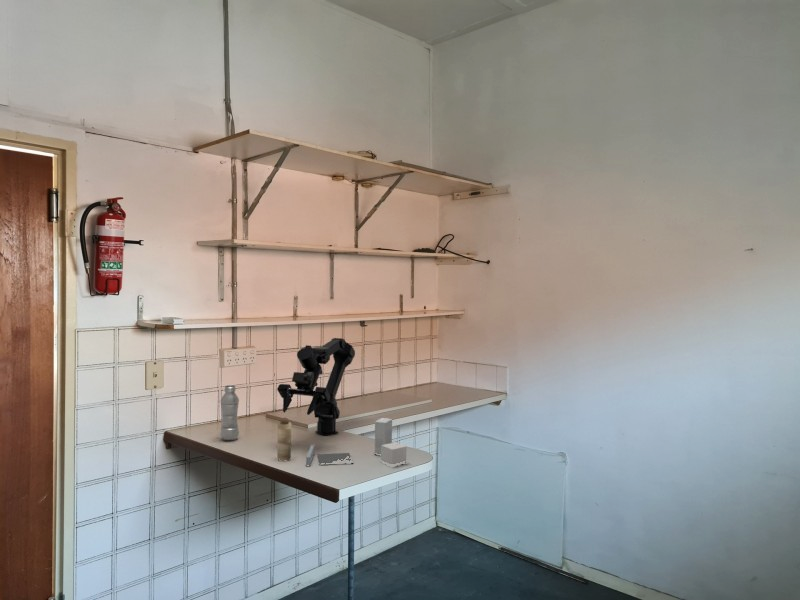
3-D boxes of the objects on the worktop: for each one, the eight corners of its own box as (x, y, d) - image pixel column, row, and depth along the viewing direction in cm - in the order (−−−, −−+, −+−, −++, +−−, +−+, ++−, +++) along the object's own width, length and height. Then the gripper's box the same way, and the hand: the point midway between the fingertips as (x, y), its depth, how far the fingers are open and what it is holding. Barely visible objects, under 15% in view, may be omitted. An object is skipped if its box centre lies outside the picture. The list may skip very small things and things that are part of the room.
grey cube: (391, 467, 189) (392, 449, 189) (380, 463, 194) (381, 445, 194) (406, 464, 193) (406, 446, 193) (394, 459, 198) (395, 442, 198)
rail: (310, 453, 202) (311, 444, 202) (314, 453, 202) (314, 444, 202) (306, 466, 188) (306, 457, 188) (309, 466, 188) (309, 457, 188)
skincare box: (380, 450, 207) (381, 417, 207) (391, 452, 206) (392, 418, 205) (373, 455, 202) (374, 421, 201) (385, 457, 200) (386, 422, 200)
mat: (317, 455, 200) (317, 454, 200) (349, 453, 203) (349, 452, 202) (319, 465, 189) (319, 464, 189) (353, 464, 192) (353, 462, 192)
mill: (286, 456, 198) (286, 415, 198) (293, 459, 195) (293, 417, 195) (274, 458, 196) (275, 417, 195) (281, 461, 192) (282, 419, 192)
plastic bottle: (240, 440, 215) (241, 387, 214) (222, 443, 212) (222, 388, 211) (236, 436, 221) (237, 384, 220) (218, 438, 217) (218, 385, 217)
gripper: (280, 361, 210) (263, 397, 200) (327, 364, 205) (313, 402, 194) (289, 379, 218) (274, 415, 207) (336, 383, 212) (322, 420, 202)
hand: (295, 413), depth 203 cm, fingers open, 9 cm apart
